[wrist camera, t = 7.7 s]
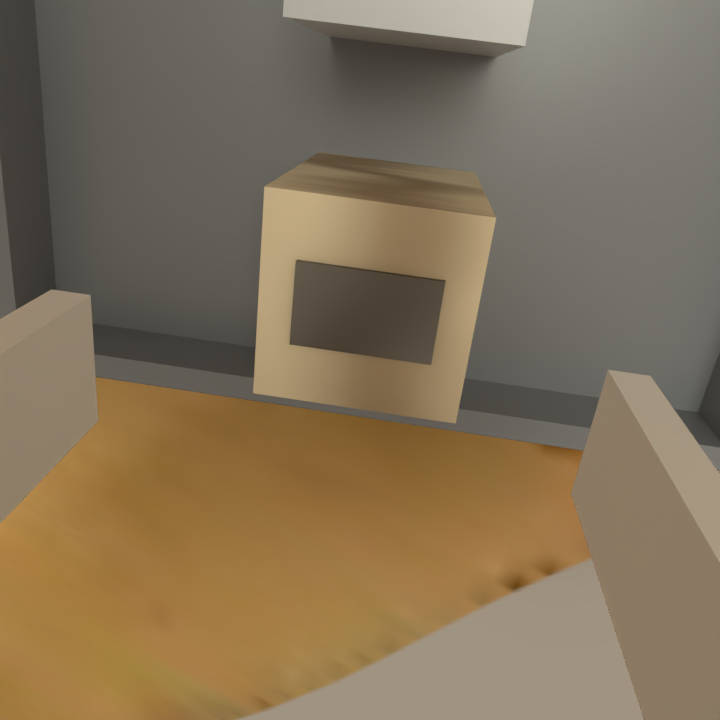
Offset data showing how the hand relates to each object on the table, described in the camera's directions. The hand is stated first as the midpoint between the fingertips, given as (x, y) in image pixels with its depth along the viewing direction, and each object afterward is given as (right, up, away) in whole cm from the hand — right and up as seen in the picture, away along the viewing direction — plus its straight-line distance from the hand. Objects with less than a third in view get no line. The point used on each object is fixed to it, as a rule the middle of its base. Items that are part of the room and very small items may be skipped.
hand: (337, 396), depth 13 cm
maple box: (+2, +6, +14) cm, 15 cm away
